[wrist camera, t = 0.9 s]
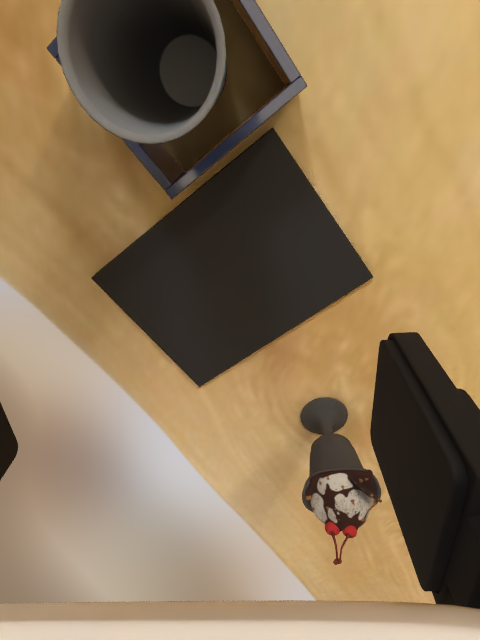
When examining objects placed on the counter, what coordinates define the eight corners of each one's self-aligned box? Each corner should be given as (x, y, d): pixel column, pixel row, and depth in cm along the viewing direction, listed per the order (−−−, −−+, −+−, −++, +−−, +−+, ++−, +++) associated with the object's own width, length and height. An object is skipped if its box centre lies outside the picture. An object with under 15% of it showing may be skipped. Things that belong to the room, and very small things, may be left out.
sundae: (293, 440, 46) (308, 578, 33) (291, 392, 43) (308, 523, 30) (354, 438, 46) (394, 576, 33) (356, 389, 43) (402, 520, 29)
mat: (92, 276, 38) (90, 278, 37) (272, 127, 32) (272, 128, 31) (199, 384, 43) (199, 387, 43) (372, 275, 37) (373, 277, 37)
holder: (82, 56, 30) (45, 47, 24) (200, -70, 26) (186, -112, 21) (184, 183, 34) (171, 199, 28) (298, 87, 30) (307, 85, 25)
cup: (206, 143, 32) (172, 175, 19) (127, 86, 31) (30, 78, 17) (257, 57, 29) (259, 24, 16) (174, -11, 28) (100, -108, 15)
